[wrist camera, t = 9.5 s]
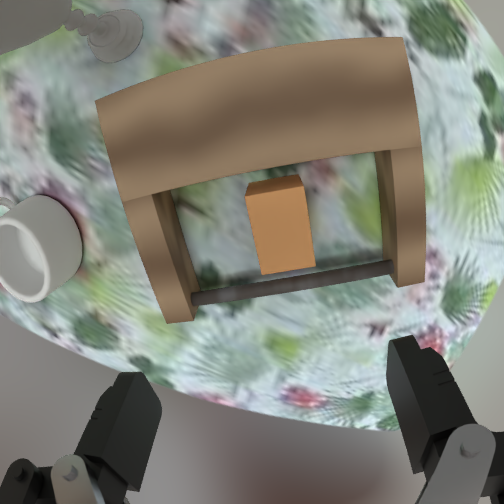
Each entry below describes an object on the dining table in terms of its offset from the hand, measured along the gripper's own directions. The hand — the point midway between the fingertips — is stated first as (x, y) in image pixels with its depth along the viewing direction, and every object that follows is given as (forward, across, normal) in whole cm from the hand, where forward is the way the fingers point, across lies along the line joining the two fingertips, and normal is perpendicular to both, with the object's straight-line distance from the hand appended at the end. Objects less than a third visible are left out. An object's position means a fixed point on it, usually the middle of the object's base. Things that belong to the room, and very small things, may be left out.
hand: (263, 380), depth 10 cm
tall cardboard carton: (+18, -1, +1) cm, 19 cm away
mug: (+19, +23, -3) cm, 30 cm away
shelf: (+18, -1, -2) cm, 19 cm away
